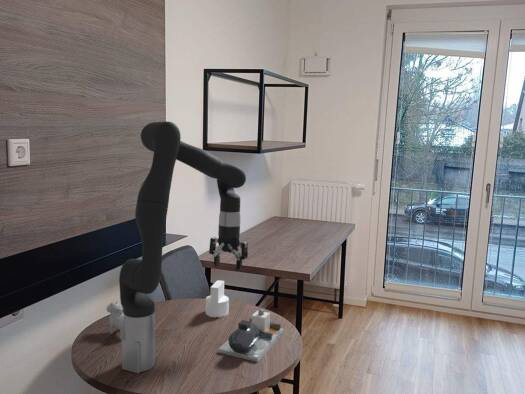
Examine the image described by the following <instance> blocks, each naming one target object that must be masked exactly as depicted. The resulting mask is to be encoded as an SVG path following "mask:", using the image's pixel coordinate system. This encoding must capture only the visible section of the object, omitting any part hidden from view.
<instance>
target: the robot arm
mask: <svg viewBox="0 0 525 394" xmlns="http://www.w3.org/2000/svg"><path fill="white" fill-rule="evenodd" d="M181 136H182V135H181V131H180V128H179V127H178V126H177V124H176V123H174V122H172V121H155V122H149V123H148V124H146V125H144V126H143V128H142V129H141V131H140V141H141V143H142V145H143V146H144V148H146V149H147V150H148V151H150V152H153V156H152V157H153V158H152V162H151V165H150V169H149V172H148V174H147V176H146V177H145V179H144V181H143V183H142V185H141V187H140V189H139V190H138V194H137V200H136V206H135V212H134V215H135V216H134V219H135V221H136V225H137V230H138V231H139V234H140V238H141V242H142V256H141V259H137V258H129V259H127V260H126V261H124V263H123V264H122V265H121V267H120V271H119V279H118V280H119V281H118V282H119V283H118V284H119V297H120V305H121V308H122V312H123V314H124V337H123V339H122V340H121V370H125V371H128V372H132V373H133V374H134V373H135V374H140V373H141V372H147V371H149V370H151V369H152V368H154V366H155V365H156V362H155V361H156V357H155V356H156V355H155V353H156V350H155V348H156V346H155V345H156V344H155V341H156V334H155V333H156V329H155V328H156V324H155V323H156V322H155V321H156V318H155V317H156V313H155V312H156V311H155V310H156V309H155V308H156V305H155V301H154V300H153V299H152V298H151V297H149V294H152V293H154V292H155V291H156V290H157V288H158V287H159V284H160V281H161V277H162V263H163V260H162V259H163V258H162V257H163V245H164V244H163V243H164V235H165V229H166V228H165V227H166V220H167V216H168V215H167V214H168V209H169V202H170V201H169V200H170V192H171V188H172V187H171V186H172V181H173V177H174V176H173V174H174V171H175V170H174V169H175V165H176V163H177V161H179V162H181V163H183V164H185V165H186V166H189V167H190V168H192V169H194V170H196V171H198V172H199V173H202V174H203V175H205V176H207V177H210V178H212V179H216V183H217V184H216V185H217V189H218V195H219V198H220V201H219V202H220V203H219V215H218V238H217V237H216V236H214V237H210V239H209V251H208V254H210V255H212V256H213V265H214V267H215V268H218V267H220V262H221V256H220V255H221V254H222V252H224V253H226V252H227V253H229V254H232V255H233V256H234V257H235V258H236V263H235V270H236V272H239V271H241V270H242V268H243V260H244V261H245V260H246V259H248V256H249V255H248V254H249V253H248V252H249V250H248V249H249V248H248V242H247V241H241V240H240V236H241V197H240V195H239V194H237V193H235V189H238V188H241V187H243V186H244V185H245V183H246V181H247V176H246V173H245V171H244V169H242V168H241V167H238V166H237V165H234V164H232V163H230V162H227V161H224V160H222V159H221V158H219V157H218V156H216V155H214V154H212V153H211V152H209V151H207V150H205V149H202V148H199V147H197V146H195V145H191V144H189V143H186V142H184V141H182V140H181V138H182V137H181ZM217 245H218V248H217ZM240 249H241V250H240Z"/></svg>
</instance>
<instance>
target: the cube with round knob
mask: <svg viewBox="0 0 525 394" xmlns="http://www.w3.org/2000/svg"><path fill="white" fill-rule="evenodd" d="M251 318H252V323H253V324H255V325H256V326H257V328H258V330H262V331H268V330H269V329H270V322H271V312H267V311H265V309H263V308H259V309H258V310H256V311H255V312H254V313H253V314H252V315H251Z"/></svg>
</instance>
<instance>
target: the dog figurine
mask: <svg viewBox="0 0 525 394" xmlns="http://www.w3.org/2000/svg"><path fill="white" fill-rule="evenodd" d="M106 312H108V313H110V315H109V317H108V318H109V319H108V322H109V328H110V332H109V334H110V335H111V334H112V335H113V334H114V333H115V328H118V330H119V340H120V341H122V339H124V314H123V307H122V305H121V301H118V300H117V301H115V303H114V302H110V303H109V304H108V305H107V306H106Z"/></svg>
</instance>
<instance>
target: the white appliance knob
mask: <svg viewBox="0 0 525 394" xmlns="http://www.w3.org/2000/svg"><path fill="white" fill-rule="evenodd" d="M229 302H230V298H229V297H228V296H227V295H225V280H220V279H219V280H216V281H215V282H214V283H213V284H212V285H211V286H210V295H208V296H206V297H205V315H206V316H208V317H210V318H216V317H218V318H224V317H226V315H227V316H228V315H229V311H230V309H229V306H230V304H229ZM223 316H224V317H223Z"/></svg>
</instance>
